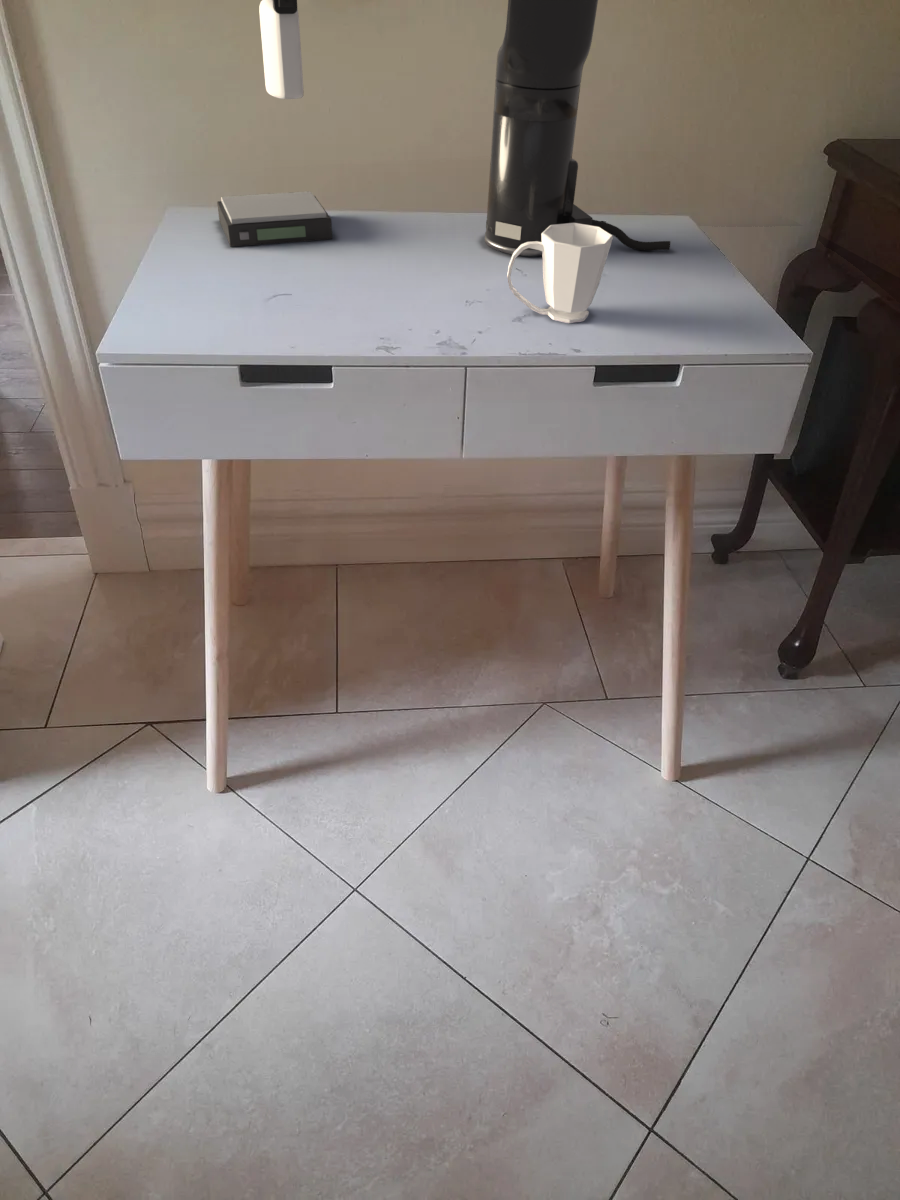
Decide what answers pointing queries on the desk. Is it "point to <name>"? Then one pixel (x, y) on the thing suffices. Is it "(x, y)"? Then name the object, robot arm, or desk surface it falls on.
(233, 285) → the desk surface
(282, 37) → the eye dropper bottle
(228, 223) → the scale
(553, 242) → the cup
